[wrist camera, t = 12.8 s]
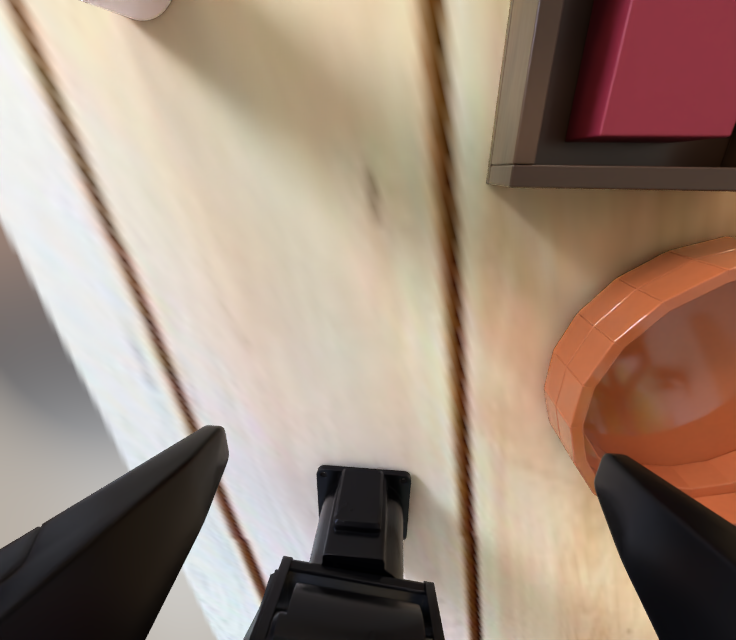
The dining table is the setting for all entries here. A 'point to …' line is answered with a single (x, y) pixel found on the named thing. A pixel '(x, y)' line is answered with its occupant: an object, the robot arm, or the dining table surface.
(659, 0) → the dark red block
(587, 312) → the bowl
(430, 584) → the robot arm
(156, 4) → the smoothie
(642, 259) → the dining table surface
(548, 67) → the holder
